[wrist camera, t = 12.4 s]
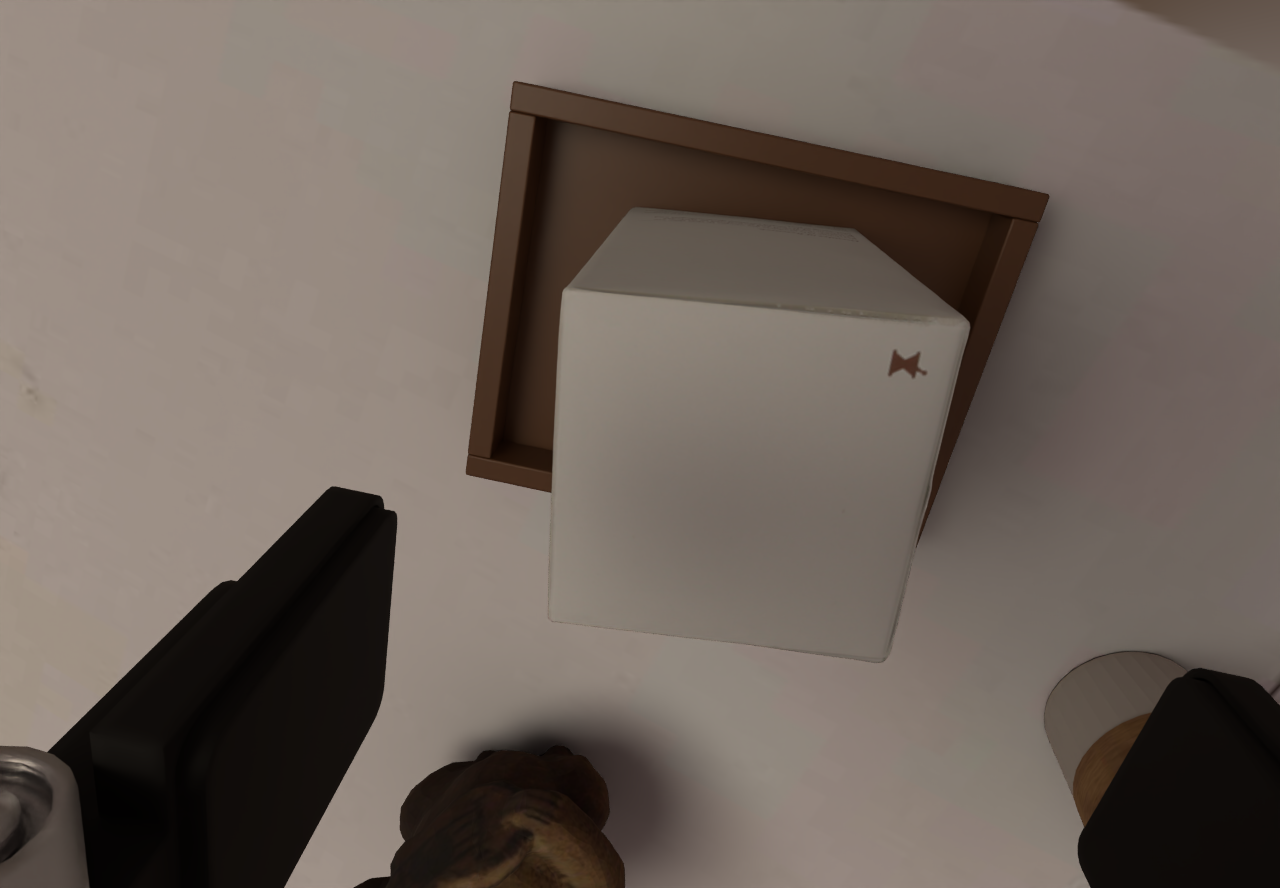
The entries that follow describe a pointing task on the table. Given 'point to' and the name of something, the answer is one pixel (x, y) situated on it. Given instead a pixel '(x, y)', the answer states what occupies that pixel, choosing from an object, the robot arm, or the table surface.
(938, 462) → the tray
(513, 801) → the sculpture
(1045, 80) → the table surface
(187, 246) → the table surface
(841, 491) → the white packaging box
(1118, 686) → the coffee cup
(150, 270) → the table surface
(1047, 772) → the table surface
